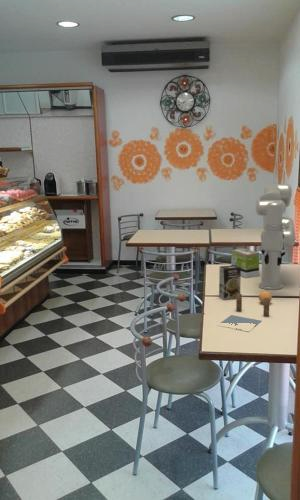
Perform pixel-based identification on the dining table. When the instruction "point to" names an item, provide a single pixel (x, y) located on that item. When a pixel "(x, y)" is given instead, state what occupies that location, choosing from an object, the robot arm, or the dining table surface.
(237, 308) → the post
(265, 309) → the post
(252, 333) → the dining table surface
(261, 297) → the ball
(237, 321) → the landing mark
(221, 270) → the coffee box
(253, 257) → the tea box
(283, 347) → the dining table surface
